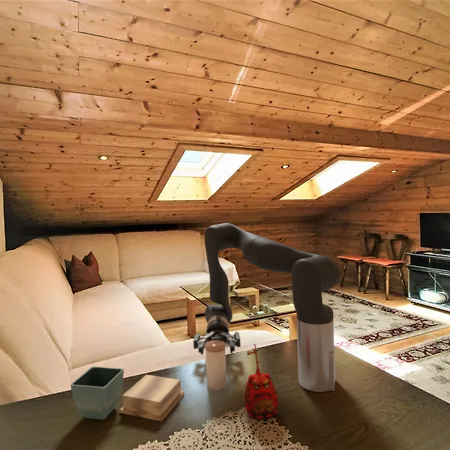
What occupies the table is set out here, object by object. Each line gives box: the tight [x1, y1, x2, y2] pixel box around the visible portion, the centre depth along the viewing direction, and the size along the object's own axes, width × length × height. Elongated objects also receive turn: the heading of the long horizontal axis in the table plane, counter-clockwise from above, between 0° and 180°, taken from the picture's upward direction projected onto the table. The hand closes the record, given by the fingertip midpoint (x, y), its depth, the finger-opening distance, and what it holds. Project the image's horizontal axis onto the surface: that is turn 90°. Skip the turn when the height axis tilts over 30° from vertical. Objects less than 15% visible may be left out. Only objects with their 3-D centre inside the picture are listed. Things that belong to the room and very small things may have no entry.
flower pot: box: [70, 366, 125, 421], centre depth 79 cm, size 9×9×9 cm
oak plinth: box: [119, 374, 185, 422], centre depth 82 cm, size 11×11×4 cm
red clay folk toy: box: [244, 343, 279, 420], centre depth 77 cm, size 8×7×15 cm
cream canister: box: [204, 340, 228, 391], centre depth 89 cm, size 5×5×11 cm
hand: (216, 350), depth 97 cm, fingers open, 8 cm apart
